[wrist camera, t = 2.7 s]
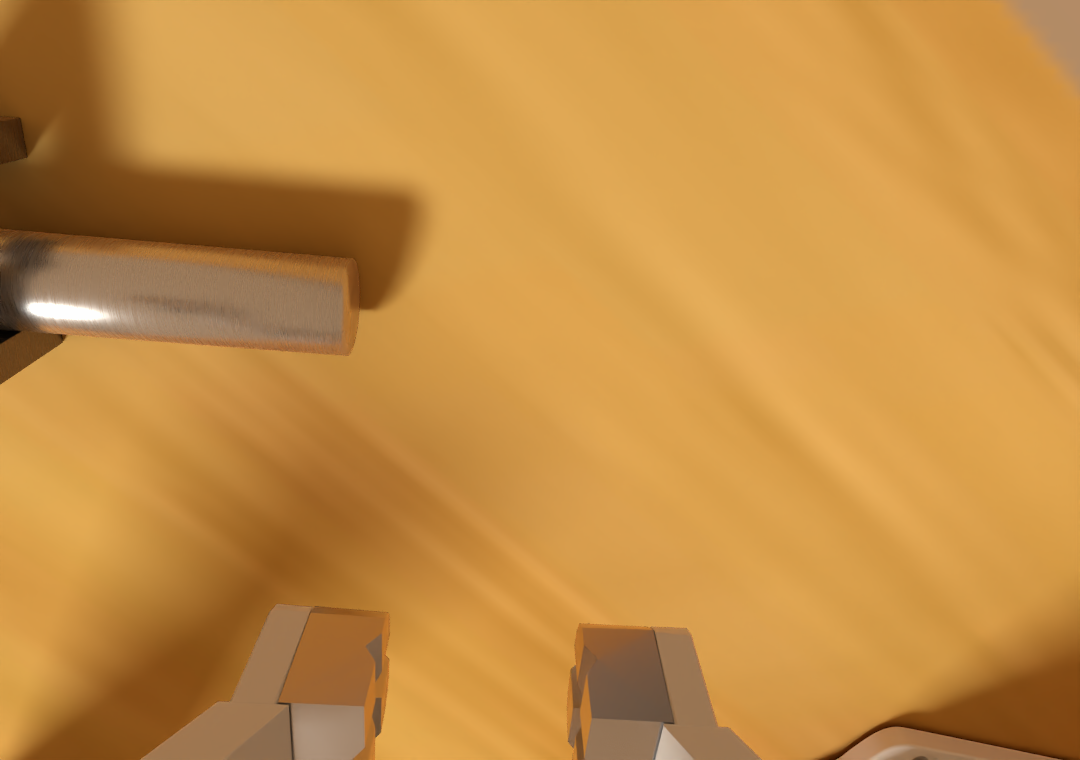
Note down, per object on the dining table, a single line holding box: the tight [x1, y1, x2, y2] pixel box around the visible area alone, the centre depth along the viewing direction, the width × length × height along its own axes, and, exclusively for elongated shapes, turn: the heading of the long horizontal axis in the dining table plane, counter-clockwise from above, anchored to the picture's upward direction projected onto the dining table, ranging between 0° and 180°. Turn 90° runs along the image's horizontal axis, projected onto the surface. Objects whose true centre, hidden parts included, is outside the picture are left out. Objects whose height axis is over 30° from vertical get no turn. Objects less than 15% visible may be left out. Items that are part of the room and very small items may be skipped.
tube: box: [0, 229, 360, 356], centre depth 24 cm, size 18×3×3 cm
